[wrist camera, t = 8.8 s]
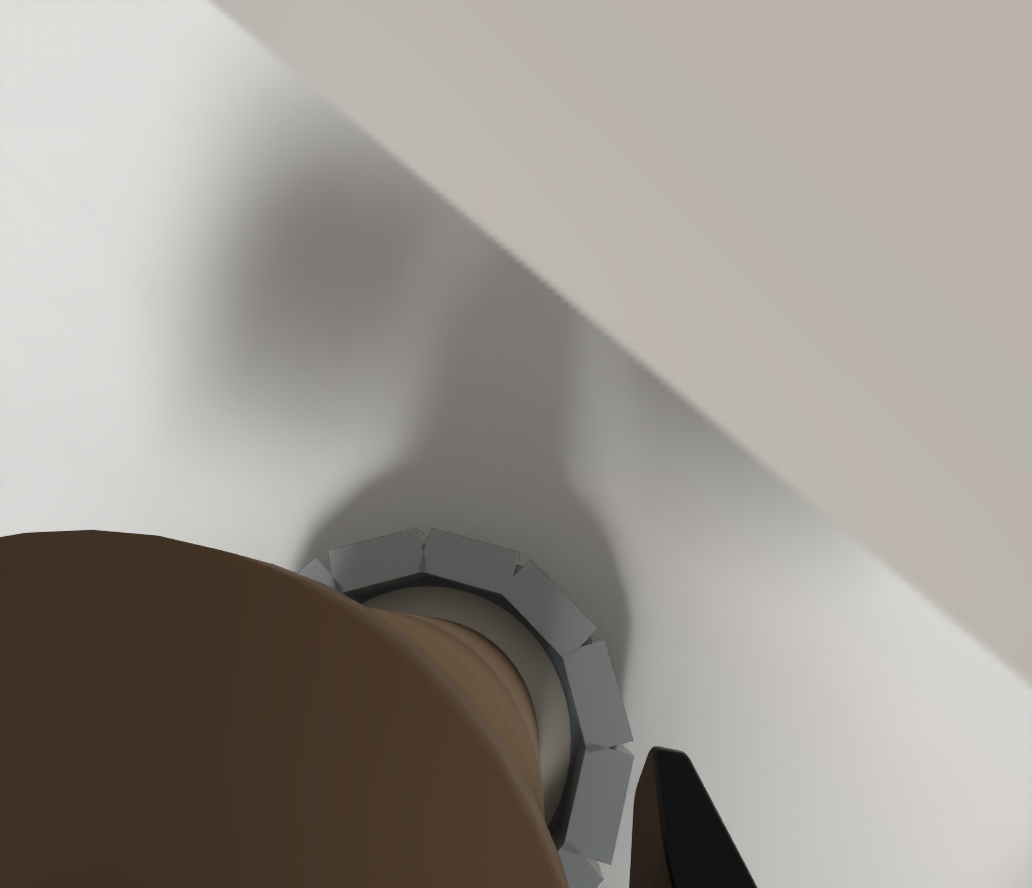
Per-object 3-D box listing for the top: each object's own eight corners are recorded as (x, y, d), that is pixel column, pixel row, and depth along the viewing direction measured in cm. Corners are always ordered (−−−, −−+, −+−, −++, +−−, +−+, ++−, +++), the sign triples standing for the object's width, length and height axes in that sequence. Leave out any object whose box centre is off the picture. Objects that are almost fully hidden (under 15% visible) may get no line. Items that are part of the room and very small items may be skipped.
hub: (416, 1040, 15) (397, 1116, 13) (171, 727, 17) (113, 742, 14) (688, 733, 17) (716, 748, 14) (439, 477, 19) (427, 454, 16)
